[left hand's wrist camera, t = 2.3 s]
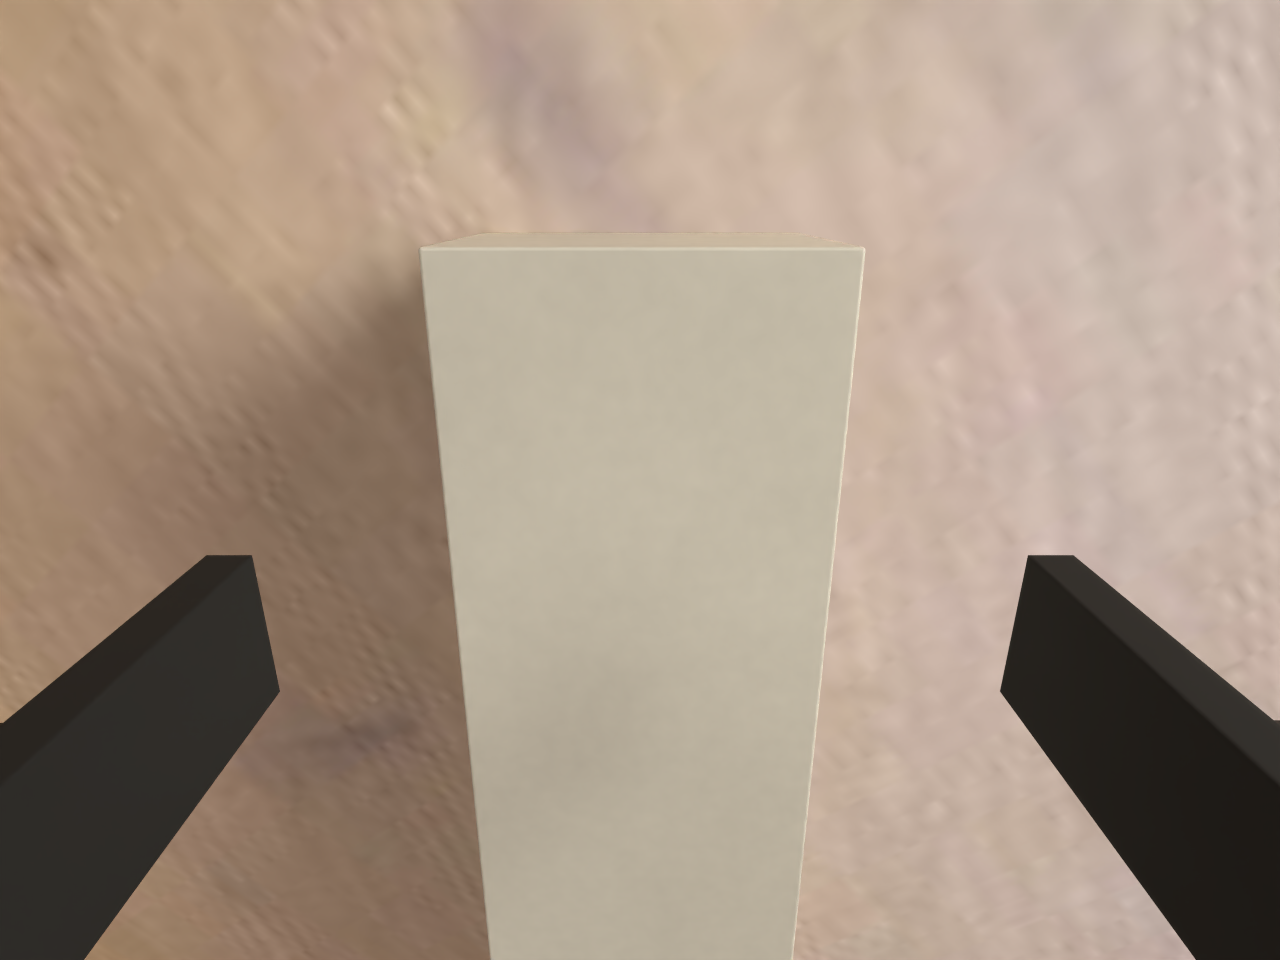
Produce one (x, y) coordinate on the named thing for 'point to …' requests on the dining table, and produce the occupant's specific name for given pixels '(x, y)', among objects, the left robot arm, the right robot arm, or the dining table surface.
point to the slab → (641, 573)
